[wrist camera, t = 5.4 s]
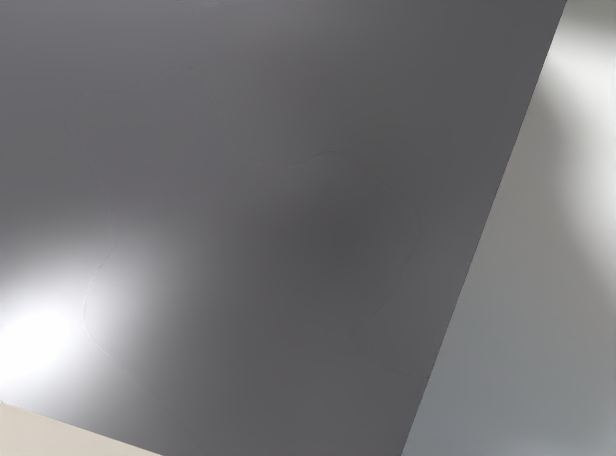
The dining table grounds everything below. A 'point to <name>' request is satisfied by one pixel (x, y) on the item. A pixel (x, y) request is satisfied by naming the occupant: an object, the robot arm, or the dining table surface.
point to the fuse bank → (248, 210)
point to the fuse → (54, 437)
